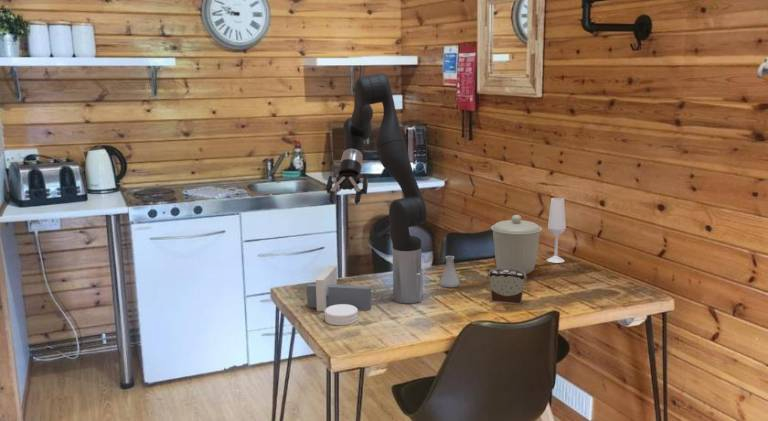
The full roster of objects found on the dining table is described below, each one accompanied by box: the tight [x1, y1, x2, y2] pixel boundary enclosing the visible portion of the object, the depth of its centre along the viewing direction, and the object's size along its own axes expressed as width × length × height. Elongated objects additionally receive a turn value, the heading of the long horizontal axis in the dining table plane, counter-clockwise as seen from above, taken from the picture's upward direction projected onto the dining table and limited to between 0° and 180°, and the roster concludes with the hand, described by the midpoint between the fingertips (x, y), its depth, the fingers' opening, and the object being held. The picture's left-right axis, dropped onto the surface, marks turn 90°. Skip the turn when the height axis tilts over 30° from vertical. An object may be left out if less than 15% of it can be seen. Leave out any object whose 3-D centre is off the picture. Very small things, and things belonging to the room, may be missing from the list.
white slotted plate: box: [315, 265, 338, 312], centre depth 225 cm, size 16×2×10 cm, turn 169°
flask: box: [439, 255, 461, 288], centre depth 241 cm, size 7×7×10 cm
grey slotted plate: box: [306, 283, 372, 311], centre depth 221 cm, size 20×2×7 cm, turn 79°
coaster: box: [324, 304, 359, 326], centre depth 211 cm, size 10×10×4 cm
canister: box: [490, 214, 543, 275], centre depth 254 cm, size 18×18×21 cm
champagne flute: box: [546, 197, 567, 264], centre depth 267 cm, size 7×7×24 cm
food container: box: [487, 267, 527, 305], centre depth 225 cm, size 12×6×10 cm, turn 71°
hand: (344, 202), depth 241 cm, fingers open, 8 cm apart
